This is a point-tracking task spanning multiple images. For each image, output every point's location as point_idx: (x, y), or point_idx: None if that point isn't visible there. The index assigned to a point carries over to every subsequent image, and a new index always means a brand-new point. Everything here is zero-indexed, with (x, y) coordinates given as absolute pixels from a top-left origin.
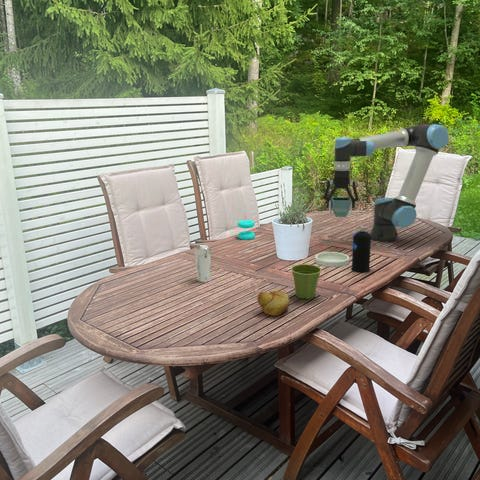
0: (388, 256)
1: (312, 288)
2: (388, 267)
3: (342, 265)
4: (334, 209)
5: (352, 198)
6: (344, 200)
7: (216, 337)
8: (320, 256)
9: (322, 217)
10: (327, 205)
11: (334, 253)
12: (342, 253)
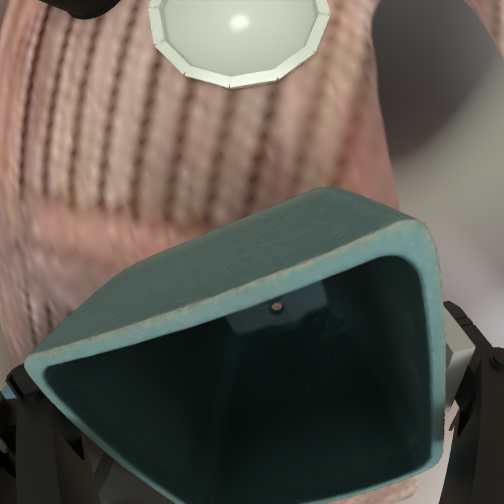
0: (48, 204)
1: None
2: (18, 74)
3: None
4: (324, 188)
5: (26, 428)
6: (107, 340)
7: None
8: (310, 32)
9: (389, 486)
10: (457, 313)
11: (249, 73)
12: (204, 79)
